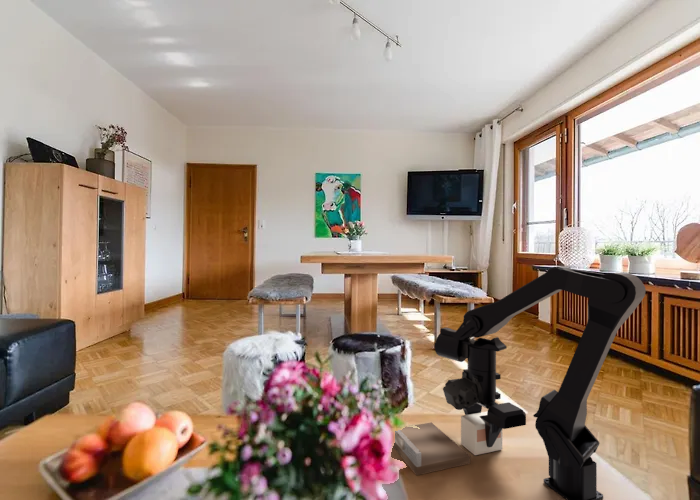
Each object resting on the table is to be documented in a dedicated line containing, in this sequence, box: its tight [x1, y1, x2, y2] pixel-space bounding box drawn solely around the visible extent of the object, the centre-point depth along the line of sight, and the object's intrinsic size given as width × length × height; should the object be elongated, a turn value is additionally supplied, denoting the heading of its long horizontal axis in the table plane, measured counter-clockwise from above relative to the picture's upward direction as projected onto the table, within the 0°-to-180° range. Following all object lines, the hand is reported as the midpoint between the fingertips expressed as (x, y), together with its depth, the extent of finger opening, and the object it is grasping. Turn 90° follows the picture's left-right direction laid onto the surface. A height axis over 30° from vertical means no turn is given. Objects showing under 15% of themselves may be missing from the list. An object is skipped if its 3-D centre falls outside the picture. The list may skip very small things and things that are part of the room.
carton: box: [460, 410, 503, 456], centre depth 73 cm, size 5×7×6 cm, turn 109°
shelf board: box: [392, 421, 471, 476], centre depth 71 cm, size 14×12×4 cm
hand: (481, 440), depth 72 cm, fingers closed on carton, 5 cm apart
